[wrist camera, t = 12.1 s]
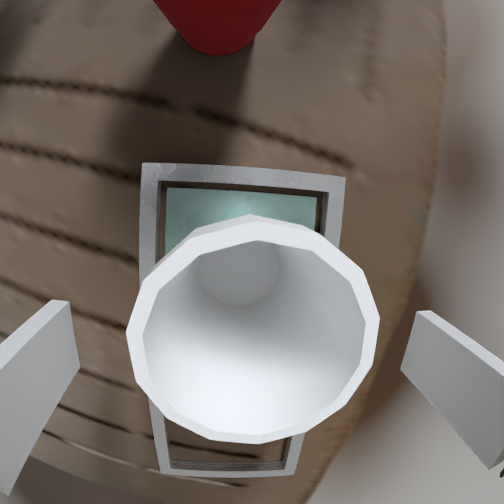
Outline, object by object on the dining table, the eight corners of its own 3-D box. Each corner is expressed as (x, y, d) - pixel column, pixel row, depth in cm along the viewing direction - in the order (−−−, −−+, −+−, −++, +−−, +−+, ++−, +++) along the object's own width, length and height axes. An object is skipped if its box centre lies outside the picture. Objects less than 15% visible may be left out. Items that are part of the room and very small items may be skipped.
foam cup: (151, 277, 23) (88, 369, 10) (224, 176, 22) (228, 162, 9) (250, 343, 25) (276, 465, 12) (323, 253, 24) (418, 320, 11)
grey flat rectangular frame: (162, 464, 27) (160, 473, 26) (146, 164, 21) (142, 162, 20) (291, 466, 29) (293, 474, 28) (338, 177, 23) (345, 177, 22)
